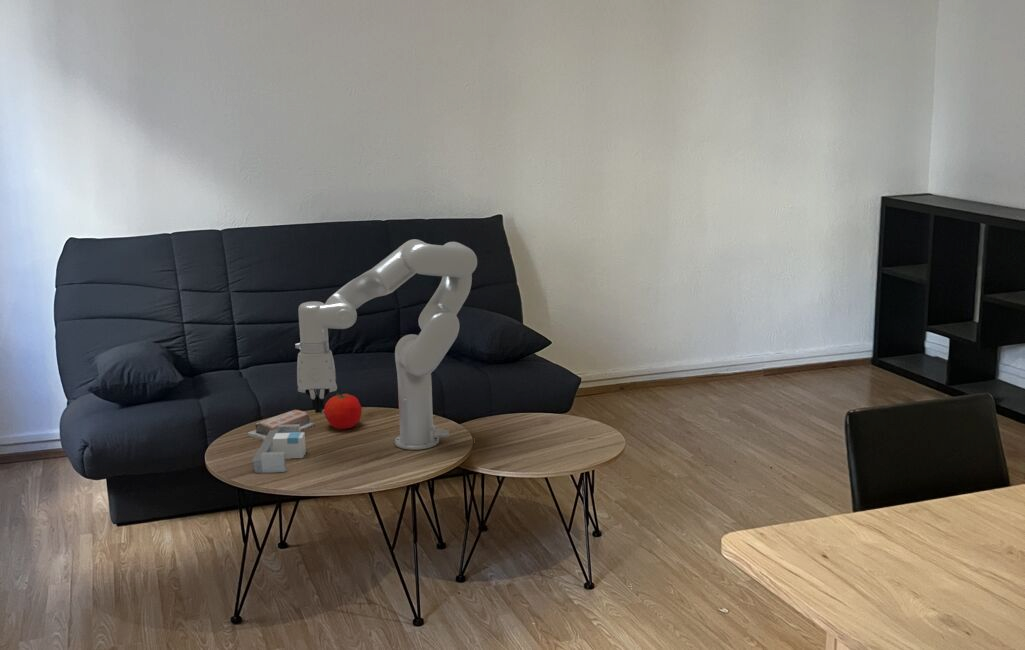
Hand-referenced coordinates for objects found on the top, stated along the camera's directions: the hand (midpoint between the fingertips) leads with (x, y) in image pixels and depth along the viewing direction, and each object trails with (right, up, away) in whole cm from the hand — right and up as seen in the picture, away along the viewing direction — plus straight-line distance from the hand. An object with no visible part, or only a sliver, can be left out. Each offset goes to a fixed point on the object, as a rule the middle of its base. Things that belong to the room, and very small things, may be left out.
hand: (319, 411), depth 299 cm
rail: (-12, -13, +2) cm, 18 cm away
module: (-9, -13, +3) cm, 16 cm away
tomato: (+3, -7, +27) cm, 28 cm away
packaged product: (-15, -8, +25) cm, 30 cm away
